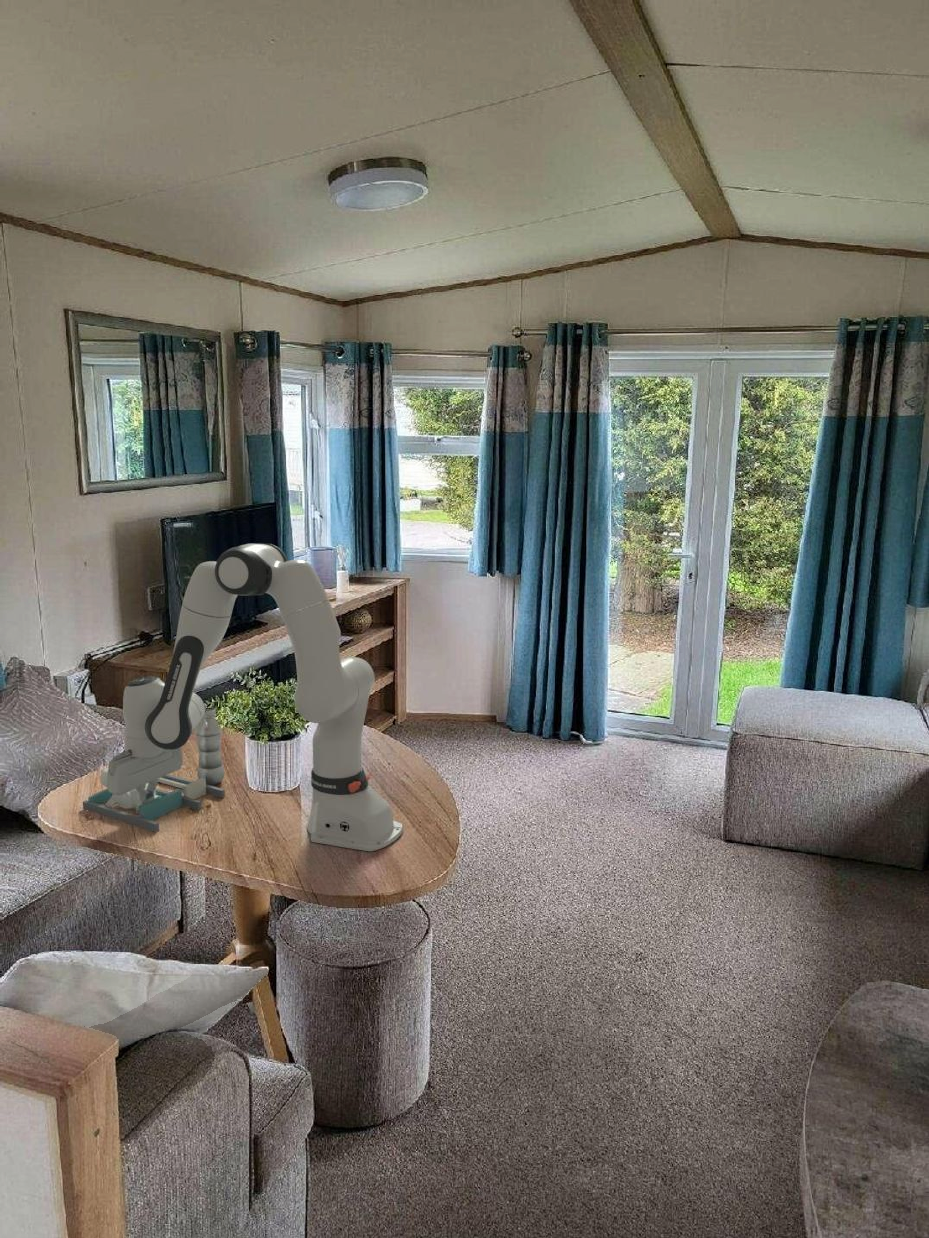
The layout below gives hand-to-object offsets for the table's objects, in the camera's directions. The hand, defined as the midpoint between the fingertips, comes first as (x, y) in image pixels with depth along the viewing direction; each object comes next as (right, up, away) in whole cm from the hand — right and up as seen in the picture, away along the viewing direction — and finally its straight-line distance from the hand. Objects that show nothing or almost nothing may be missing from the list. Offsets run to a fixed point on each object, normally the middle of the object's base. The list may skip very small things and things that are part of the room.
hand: (147, 798), depth 208 cm
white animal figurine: (-6, -3, +5) cm, 8 cm away
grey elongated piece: (+1, 0, +12) cm, 12 cm away
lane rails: (0, -2, +5) cm, 6 cm away
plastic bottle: (+10, 0, +18) cm, 20 cm away
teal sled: (-4, -2, +3) cm, 5 cm away
